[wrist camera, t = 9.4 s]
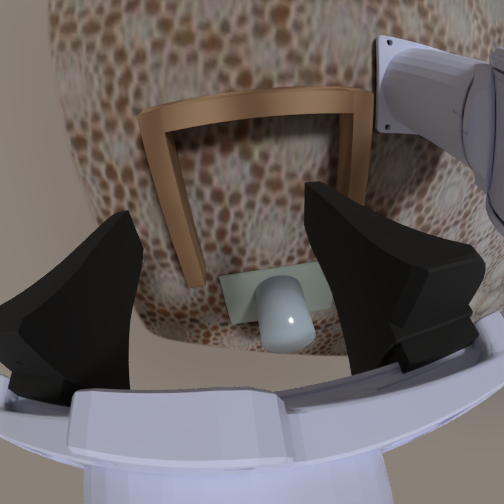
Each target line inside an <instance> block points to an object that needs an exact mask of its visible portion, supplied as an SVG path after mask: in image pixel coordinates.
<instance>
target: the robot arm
mask: <svg viewBox="0 0 504 504" xmlns="http://www.w3.org/2000/svg"><path fill="white" fill-rule="evenodd" d="M387 40H389V41H390V45H388V44H387ZM376 58H377V88H376V116H375V128H376V130H377V131H378V132H381V133H402V134H419V135H421V136H422V137H424V138H426V139H427V140H429V141H431V142H432V143H434V144H435V145H437V146H438V147H440V148H442V149H443V150H445V151H446V152H448V153H449V154H451V155H452V156H454V157H455V158H456V159H458V160H459V161H461V162H462V163H463V164H465V165H466V166H468V167H469V168H470V169H472V170H473V171H474V175H475V184H476V185H477V186H478V187H479V188H480V189H482V190H483V191H484V192H485V193H486V194H487V196H486V211H487V214H488V216H489V218H490V220H491V222H492V224H493V225H494V226H495V228H496V229H497V230H498V231H499V233H500V234H501V235H502V236H503V237H504V48H502V47H498V48H497V49H496V50H495V51H494V53H490V54H489V59H490V63H487V62H483V61H480V60H476V59H472V58H468V57H464V56H460V55H455V54H451V53H448V52H445V51H442V50H439V49H435V48H432V47H429V46H425V45H422V44H418V43H415V42H411V41H407V40H402V39H398V38H394V37H389V36H384V35H379V36H377V38H376ZM386 124H388V127H387V128H386V129H385V125H386ZM304 226H305V229H306V232H307V236H308V239H309V242H310V245H311V247H312V249H313V252H314V254H315V256H316V258H317V260H318V263H319V265H320V267H321V269H322V271H323V274H324V276H325V278H326V280H327V282H328V285H329V287H330V290H331V292H332V295H333V298H334V302H335V305H336V308H337V312H338V315H339V319H340V323H341V327H342V331H343V334H344V339H345V343H346V348H347V353H348V357H349V363H350V368H351V374H352V376H349V377H345V378H341V379H337V380H333V381H328V382H324V383H320V384H315V385H310V386H305V387H300V388H295V389H289V390H283V391H277V392H271V391H268V390H263V389H257V388H252V387H212V388H198V389H178V390H130V381H129V361H128V360H129V330H130V319H131V313H132V308H133V303H134V299H135V294H136V290H137V286H138V282H139V277H140V273H141V268H142V260H143V249H144V248H143V246H142V244H141V241H140V239H139V236H138V234H137V231H136V229H135V226H134V224H133V221H132V218H131V216H130V213H129V211H128V210H127V211H122V212H118V213H115V214H113V215H112V216H111V217H109V218H108V219H107V220H106V221H105V222H104V223H102V224H101V225H100V226H99V227H98V228H97V229H96V230H95V231H94V232H93V233H92V234H91V235H90V236H89V237H88V238H87V239H86V240H85V241H84V242H82V243H81V244H80V245H79V246H78V247H77V248H76V249H75V250H74V251H73V252H72V253H71V254H70V255H69V256H68V257H66V258H65V259H64V260H63V261H62V262H61V263H60V264H58V265H57V266H56V267H55V268H54V269H53V270H51V271H50V272H49V273H48V274H46V275H45V276H44V277H42V278H41V279H40V280H38V281H37V282H36V283H34V284H33V285H32V286H30V287H29V288H27V289H26V290H25V291H23V292H22V293H20V294H19V295H17V296H15V297H14V298H12V299H11V300H9V301H7V302H5V303H4V304H2V305H0V362H1V363H2V364H4V365H5V366H6V367H7V368H8V369H9V370H10V371H12V374H11V378H9V377H7V376H5V375H2V374H0V437H1V438H3V439H5V440H7V441H9V442H11V443H13V444H15V445H17V446H19V447H21V448H24V449H26V450H29V451H31V452H33V453H36V454H38V455H41V456H44V457H47V458H50V459H52V460H55V461H58V462H61V463H64V464H68V465H71V466H74V467H78V468H81V469H84V504H394V501H393V497H392V492H391V488H390V483H389V479H388V475H387V471H386V467H385V463H384V459H383V455H382V453H384V452H386V451H389V450H391V449H394V448H396V447H399V446H401V445H403V444H406V443H408V442H410V441H412V440H415V439H417V438H419V437H421V436H423V435H425V434H427V433H429V432H431V431H433V430H435V429H437V428H439V427H441V426H443V425H445V424H446V423H448V422H450V421H452V420H453V419H455V418H457V417H459V416H460V415H462V414H464V413H465V412H467V411H469V410H470V409H472V408H473V407H475V406H477V405H478V404H480V403H481V402H482V401H484V400H485V399H487V398H489V397H490V396H491V395H493V394H494V393H495V392H496V391H498V390H499V389H500V388H502V387H503V386H504V319H503V317H502V315H501V314H500V312H499V310H496V311H494V312H492V313H490V314H488V315H486V316H484V317H482V318H480V319H479V320H477V321H476V322H475V323H474V324H473V323H472V321H471V319H470V316H471V315H472V314H473V311H472V309H471V308H470V306H469V305H468V304H469V303H470V301H471V300H472V298H473V296H474V295H475V293H476V291H477V290H478V288H479V286H480V284H481V282H482V280H483V278H484V275H485V269H486V268H485V262H484V260H483V259H482V258H481V256H480V255H479V254H478V253H477V251H476V250H475V249H474V248H473V247H472V246H471V245H469V244H464V243H460V242H456V241H451V240H447V239H443V238H440V237H436V236H433V235H430V234H427V233H424V232H420V231H418V230H415V229H412V228H410V227H407V226H404V225H402V224H399V223H397V222H395V221H392V220H390V219H388V218H386V217H384V216H381V215H379V214H377V213H375V212H373V211H372V210H370V209H368V208H366V207H364V206H362V205H360V204H359V203H357V202H355V201H353V200H352V199H350V198H348V197H347V196H345V195H343V194H341V193H340V192H338V191H336V190H335V189H333V188H331V187H330V186H328V185H326V184H324V183H322V182H320V181H318V182H307V183H305V206H304Z"/></svg>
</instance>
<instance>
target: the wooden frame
mask: <svg viewBox="0 0 504 504" xmlns="http://www.w3.org/2000/svg"><path fill="white" fill-rule="evenodd" d="M373 108H374V93H372V92H369V91H367V90H364V89H361V88H358V87H334V86H303V87H279V88H265V89H253V90H244V91H235V92H227V93H220V94H214V95H208V96H202V97H196V98H191V99H186V100H181V101H176V102H171V103H167V104H162V105H158V106H154V107H150V108H146V109H145V110H144V111H142V112H141V113H140V114H139V115H137V120H138V124H139V128H140V133H141V137H142V140H143V144H144V148H145V152H146V156H147V160H148V163H149V167H150V170H151V174H152V177H153V181H154V184H155V188H156V191H157V195H158V198H159V201H160V204H161V208H162V211H163V214H164V217H165V220H166V223H167V227H168V230H169V233H170V236H171V239H172V242H173V245H174V247H175V250H176V253H177V256H178V259H179V262H180V265H181V267H182V270H183V273H184V276H185V279H186V281H187V284H188V287H189V288H191V287H199V286H206V265H205V261H204V258H203V254H202V251H201V247H200V243H199V240H198V236H197V232H196V228H195V224H194V221H193V217H192V213H191V209H190V205H189V201H188V197H187V193H186V189H185V184H184V180H183V176H182V172H181V167H180V163H179V159H178V154H177V150H176V145H175V141H174V136H173V131H174V130H179V129H184V128H189V127H194V126H200V125H206V124H212V123H218V122H225V121H232V120H240V119H248V118H257V117H267V116H279V115H294V114H316V113H339V143H338V167H337V184H336V191H338V192H340V193H341V194H343V195H345V196H347V197H348V198H350V199H352V200H353V201H355V202H357V203H359V204H360V205H362V206H364V204H365V197H366V190H367V182H368V173H369V164H370V153H371V141H372V127H373Z"/></svg>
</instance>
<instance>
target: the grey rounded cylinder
mask: <svg viewBox="0 0 504 504" xmlns="http://www.w3.org/2000/svg"><path fill="white" fill-rule="evenodd" d="M254 296H255V302H256V309H257V315H258V322H259V328H260V335H261V341H262V346H263V348H264V349H265V350H267V351H269V352H272V353H279V354H281V353H290V352H294V351H297V350H300V349H302V348H304V347H306V346H307V345H309V344H310V343H311V342H312V341H313V340H314V338H315V330H314V326H313V323H312V320H311V316H310V313H309V310H308V306H307V303H306V300H305V297H304V293H303V290H302V287H301V284H300V282H299V281H298V280H297V279H296V278H294V277H291V276H286V275H279V276H273V277H270V278H268V279H266V280H264V281H263V282H261V283H260V284H259V285H258V286H257V288H256V290H255V293H254Z"/></svg>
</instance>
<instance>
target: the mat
mask: <svg viewBox="0 0 504 504" xmlns="http://www.w3.org/2000/svg"><path fill="white" fill-rule="evenodd" d="M279 275H286V276H291V277H294V278H296V279H297V280H298V281H299V282H300V284H301V287H302V290H303V293H304V297H305V300H306V303H307V306H308V310H309V312H314V311H319V310H324V309H330V308H331V305H332V300H333V295H332V292H331V290H330V287H329V285H328V282H327V280H326V278H325V276H324V274H323V271H322V269H321V267H320V265H319V263H318V261H317V262H310V263H304V264H297V265H291V266H284V267H277V268H271V269H264V270H257V271H250V272H243V273H236V274H229V275H222V276H219V279H220V283H221V287H222V290H223V294H224V298H225V302H226V306H227V310H228V313H229V317H230V321H231V324H238V323H245V322H253V321H258V315H257V309H256V302H255V296H254V293H255V290H256V288H257V286H258V285H259V284H260V283H261V282H263V281H264V280H266V279H268V278H270V277H273V276H279Z"/></svg>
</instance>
